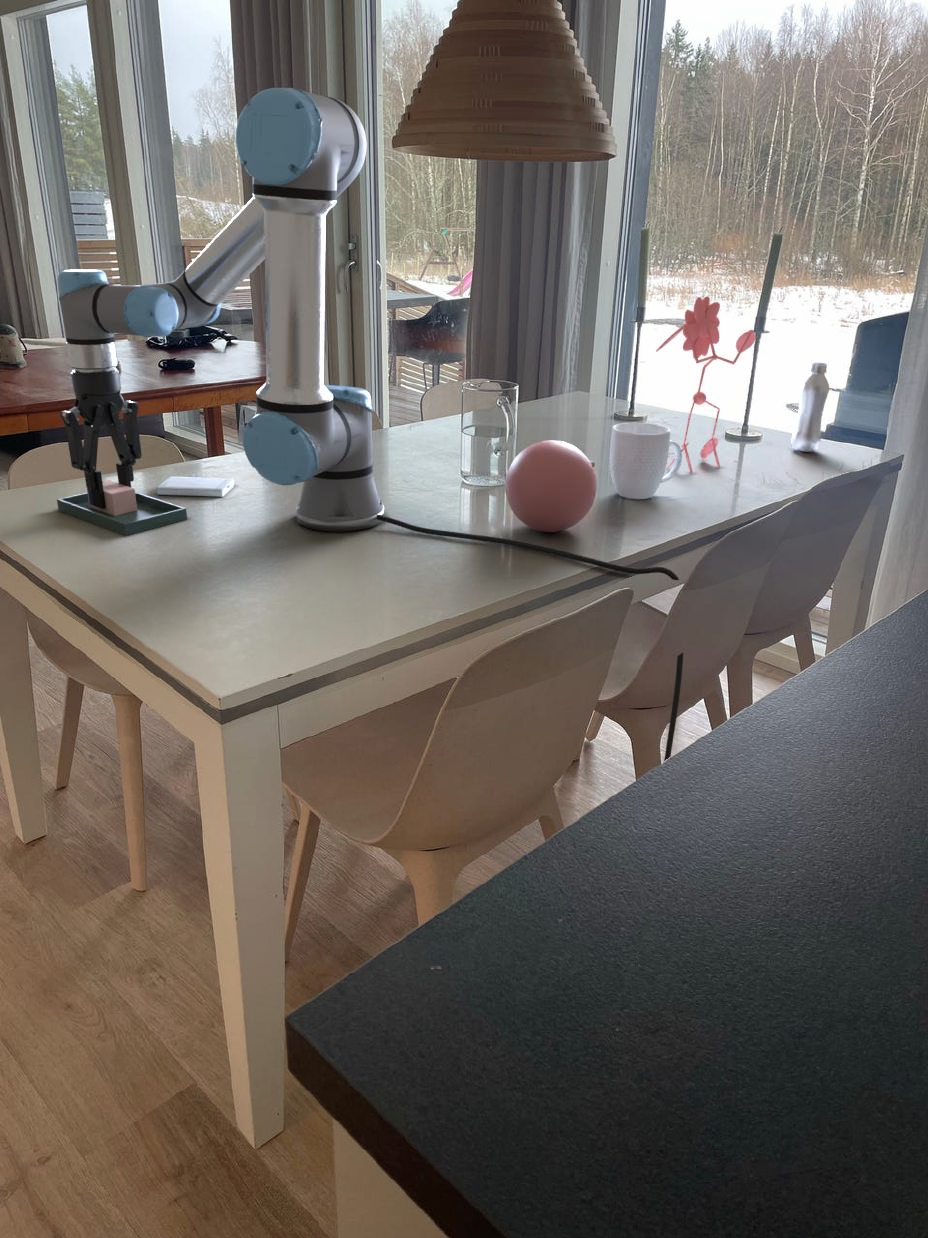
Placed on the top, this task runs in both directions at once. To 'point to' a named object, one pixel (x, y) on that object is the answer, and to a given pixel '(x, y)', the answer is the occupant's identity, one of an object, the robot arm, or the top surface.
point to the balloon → (551, 486)
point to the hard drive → (195, 486)
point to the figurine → (699, 338)
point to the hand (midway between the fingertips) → (113, 503)
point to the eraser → (116, 498)
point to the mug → (641, 458)
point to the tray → (143, 519)
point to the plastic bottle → (811, 409)
